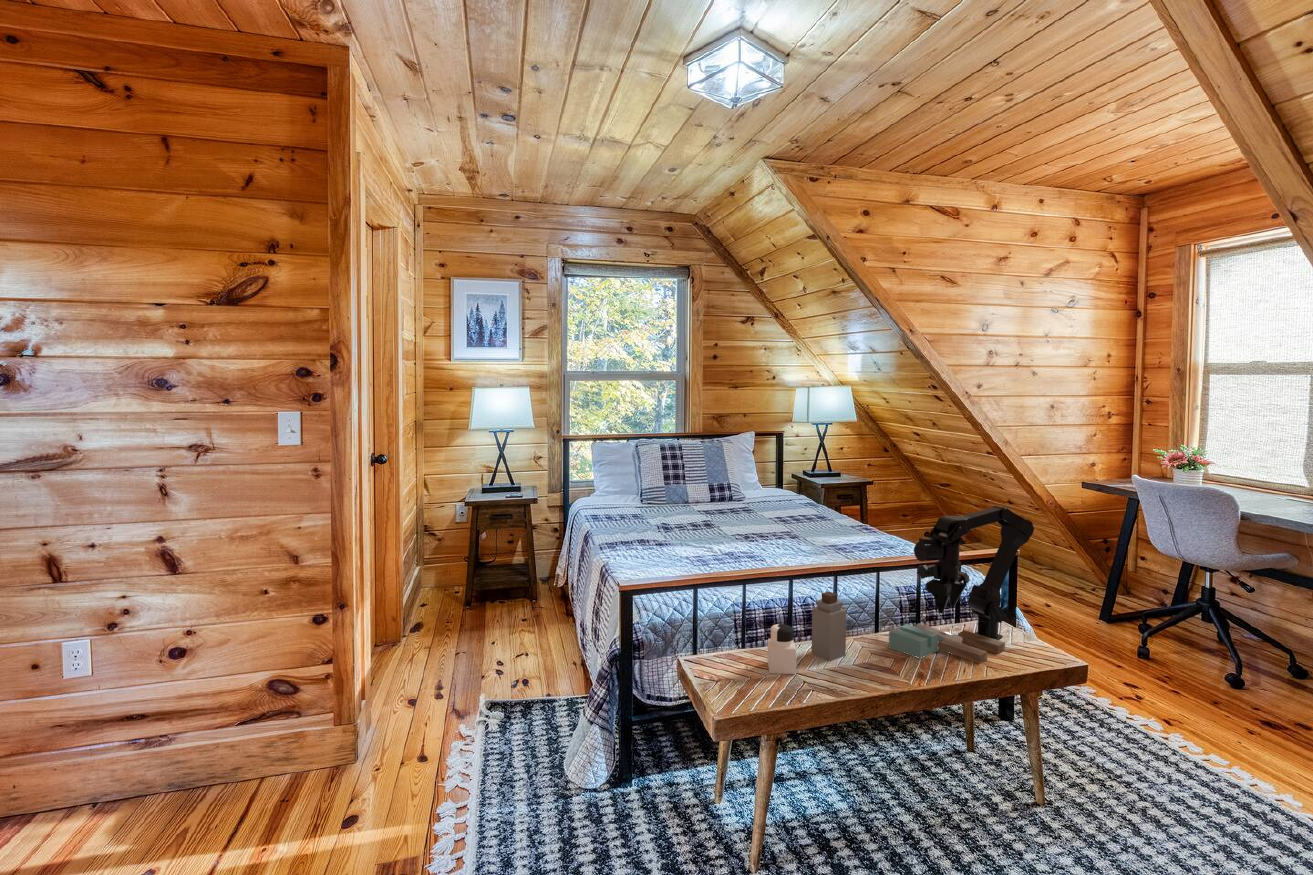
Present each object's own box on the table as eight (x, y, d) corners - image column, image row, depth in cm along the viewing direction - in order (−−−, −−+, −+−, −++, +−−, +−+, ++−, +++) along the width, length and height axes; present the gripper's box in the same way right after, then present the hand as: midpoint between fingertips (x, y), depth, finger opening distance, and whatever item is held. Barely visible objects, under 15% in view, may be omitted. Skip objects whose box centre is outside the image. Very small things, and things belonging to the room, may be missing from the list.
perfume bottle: (845, 655, 183) (846, 594, 182) (829, 661, 179) (830, 599, 178) (827, 647, 189) (828, 588, 187) (811, 653, 185) (812, 592, 183)
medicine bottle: (793, 663, 178) (793, 621, 177) (796, 674, 171) (796, 631, 170) (767, 662, 178) (767, 621, 178) (769, 673, 171) (769, 630, 170)
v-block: (906, 639, 194) (907, 623, 194) (937, 650, 187) (938, 633, 186) (888, 647, 189) (889, 631, 188) (920, 658, 181) (920, 641, 180)
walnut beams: (964, 637, 196) (964, 630, 196) (1004, 650, 187) (1005, 642, 186) (939, 649, 187) (939, 641, 187) (980, 663, 178) (980, 655, 177)
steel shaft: (916, 636, 199) (913, 628, 198) (922, 629, 201) (919, 620, 200) (960, 651, 188) (957, 642, 187) (965, 643, 190) (963, 634, 188)
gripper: (934, 548, 203) (932, 596, 204) (908, 559, 190) (907, 610, 191) (970, 555, 195) (968, 604, 197) (946, 566, 182) (945, 619, 183)
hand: (946, 609), depth 192 cm, fingers open, 9 cm apart
